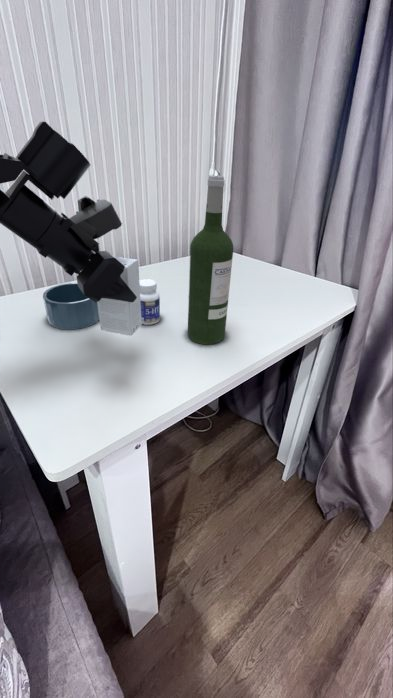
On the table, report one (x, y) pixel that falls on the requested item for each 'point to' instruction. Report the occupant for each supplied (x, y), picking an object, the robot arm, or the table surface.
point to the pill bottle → (149, 302)
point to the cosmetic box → (123, 304)
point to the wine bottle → (210, 272)
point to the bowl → (69, 307)
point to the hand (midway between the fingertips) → (126, 291)
